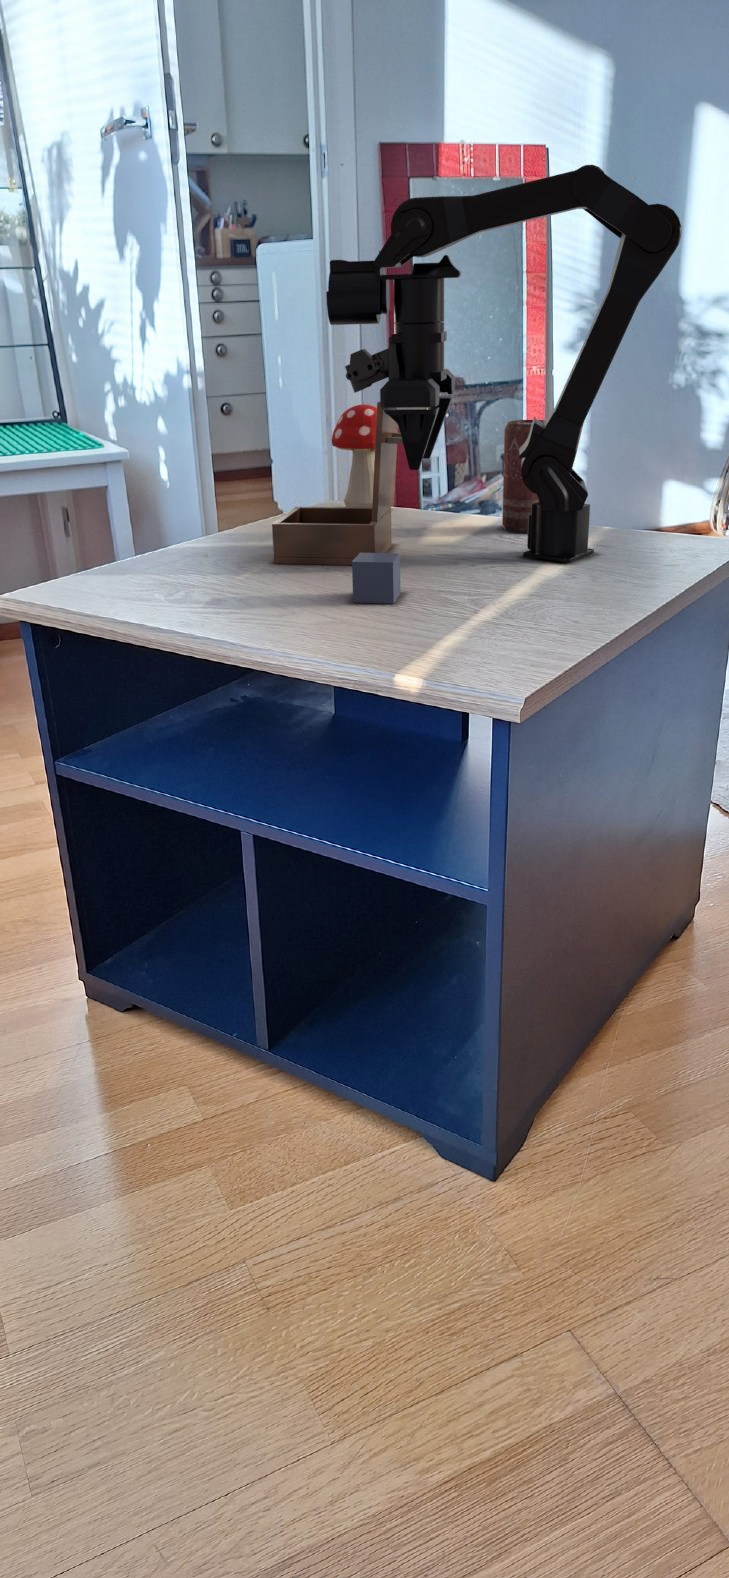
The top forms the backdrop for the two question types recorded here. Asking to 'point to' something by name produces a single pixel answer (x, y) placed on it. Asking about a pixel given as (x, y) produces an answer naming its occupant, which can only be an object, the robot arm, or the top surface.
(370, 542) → the chest
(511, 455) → the can
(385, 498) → the lid
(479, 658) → the top surface
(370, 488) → the decorative mushroom
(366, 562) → the block
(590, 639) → the top surface
